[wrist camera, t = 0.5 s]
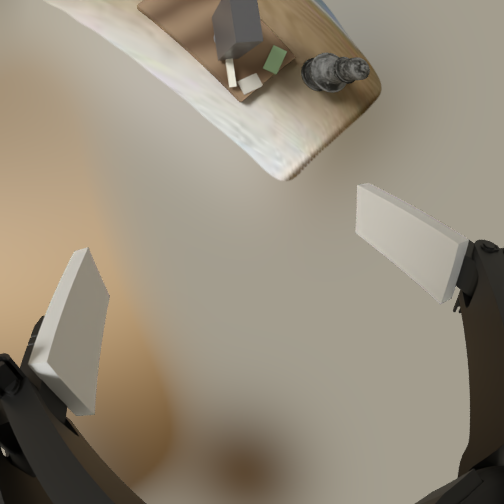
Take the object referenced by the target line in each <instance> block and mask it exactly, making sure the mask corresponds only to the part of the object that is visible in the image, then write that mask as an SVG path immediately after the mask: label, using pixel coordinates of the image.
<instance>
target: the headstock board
mask: <svg viewBox="0 0 504 504" xmlns="http://www.w3.org/2000/svg"><path fill="white" fill-rule="evenodd" d="M220 1H221V0H143V1H142V2H141V3H139V4H138V5H137V9H138V10H139V11H141V12H142V13H143V14H144V15H146V16H147V17H148V18H149V19H151V20H152V21H153V22H154V23H155V24H157V25H158V26H159V27H160V28H161V29H163V30H164V31H165V32H166V33H167V34H168V35H170V36H171V37H172V38H173V39H174V40H175V41H176V42H178V43H179V44H180V45H181V46H182V47H183V48H184V49H185V50H187V51H188V52H189V53H190V54H191V55H192V56H193V57H194V58H195V59H196V60H197V61H199V62H200V63H201V64H202V65H203V66H204V67H205V68H206V69H207V70H208V71H209V72H210V73H211V74H212V75H213V76H214V77H215V78H216V79H217V80H218V81H219V82H220V83H221V84H222V85H223V86H224V87H225V88H226V89H227V90H228V91H229V92H230V93H231V94H232V95H233V96H234V97H235V98H236V99H237V100H238V101H239V102H242V101H243V100H244V99H246V98H247V97H248V96H249V95H250V94H251V93H253V92H254V91H255V90H256V89H255V90H253V91H251V92H249V93H247V94H245V95H244V94H243V92H242V90H241V88H240V87H239V85H238V83H237V81H240V80H242V79H244V78H246V77H248V76H250V75H253V74H255V73H257V75H258V77H259V79H260V81H261V83H262V84H263V83H264V82H266V81H267V80H268V79H269V78H270V77H272V76H273V75H274V73H272V72H270V71H268V70H265V69H263V66H264V64H265V62H266V60H267V58H268V56H269V53H270V51H271V49H272V47H273V45H275V46H277V47H279V48H281V49H283V50H285V51H287V53H286V55H285V57H284V59H283V61H282V64H281V66H280V68H279V70H280V69H282V68H283V67H284V66H286V65H287V64H288V63H289V62H291V61H292V60H293V59H295V58H296V57H295V56H294V55H293V54H292V52H291V51H290V50H289V49H288V48H287V47H286V46H285V44H284V43H283V42H282V41H281V40H280V39H279V38H278V37H277V36H276V35H275V34H274V33H273V31H272V30H271V29H270V28H269V27H268V26H267V25H266V24H265V23H264V22H263V21H262V20H261V19H260V22H261V28H262V35H263V42H261V43H260V44H259V45H257V46H256V47H254V48H253V49H251V50H250V51H248V52H247V53H246V54H244V55H243V56H241V57H240V58H239V59H233V64H234V71H235V78H236V85H237V86H236V87H229V82H228V75H227V68H226V61H225V60H220V61H218V57H217V50H216V43H215V42H214V29H213V22H212V16H213V14H214V12H215V10H216V8H217V6H218V5H219V3H220ZM279 70H278V71H279Z"/></svg>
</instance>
